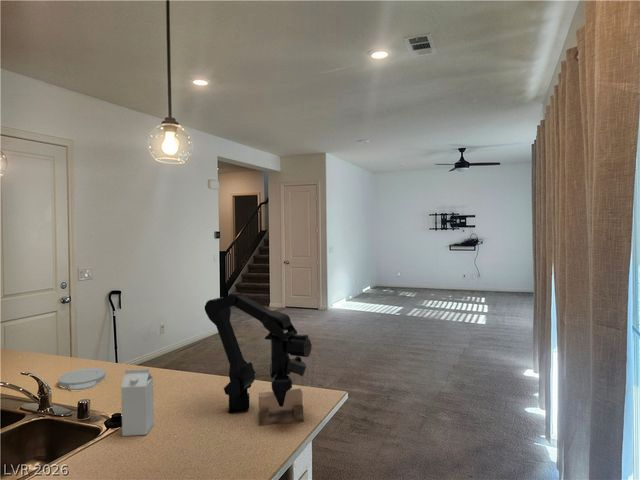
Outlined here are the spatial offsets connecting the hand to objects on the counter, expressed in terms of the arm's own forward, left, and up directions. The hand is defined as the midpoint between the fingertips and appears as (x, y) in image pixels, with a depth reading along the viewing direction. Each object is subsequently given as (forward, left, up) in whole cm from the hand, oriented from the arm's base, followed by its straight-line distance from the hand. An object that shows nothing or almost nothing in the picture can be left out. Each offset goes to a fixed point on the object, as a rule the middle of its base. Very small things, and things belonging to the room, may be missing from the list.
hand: (280, 400), depth 136 cm
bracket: (0, 0, -6) cm, 6 cm away
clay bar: (0, 0, -2) cm, 3 cm away
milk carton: (-44, -1, -6) cm, 44 cm away
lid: (-78, +46, -6) cm, 91 cm away
